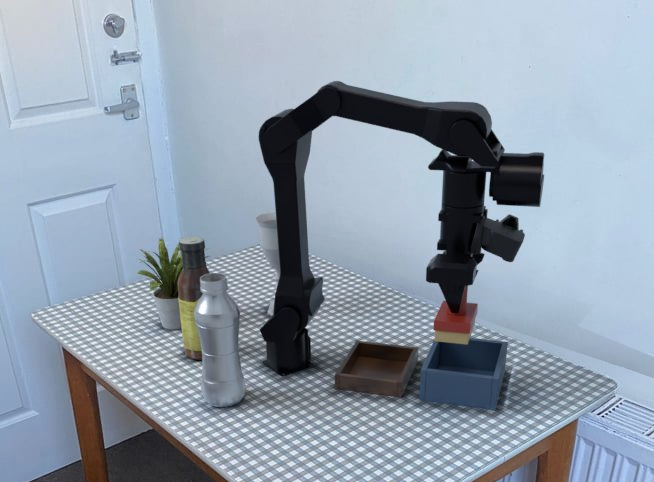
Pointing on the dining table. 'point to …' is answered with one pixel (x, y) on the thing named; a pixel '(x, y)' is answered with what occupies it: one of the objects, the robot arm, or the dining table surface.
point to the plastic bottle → (219, 342)
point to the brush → (455, 322)
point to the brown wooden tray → (377, 369)
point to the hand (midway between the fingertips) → (456, 308)
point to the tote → (464, 373)
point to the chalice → (270, 245)
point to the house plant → (166, 285)
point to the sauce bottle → (191, 292)
